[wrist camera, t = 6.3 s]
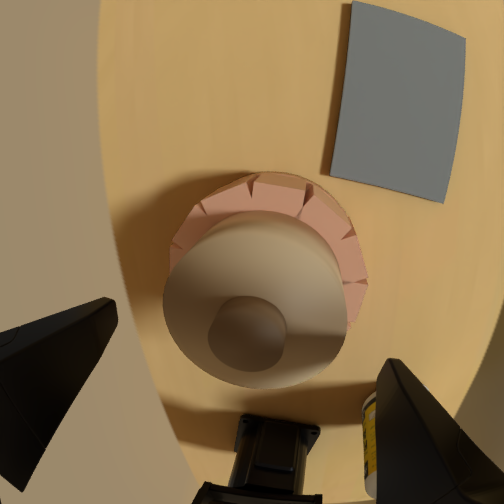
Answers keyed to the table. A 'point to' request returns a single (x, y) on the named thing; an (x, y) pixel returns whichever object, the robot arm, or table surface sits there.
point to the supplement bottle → (370, 444)
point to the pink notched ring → (287, 202)
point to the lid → (258, 301)
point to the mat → (399, 103)
